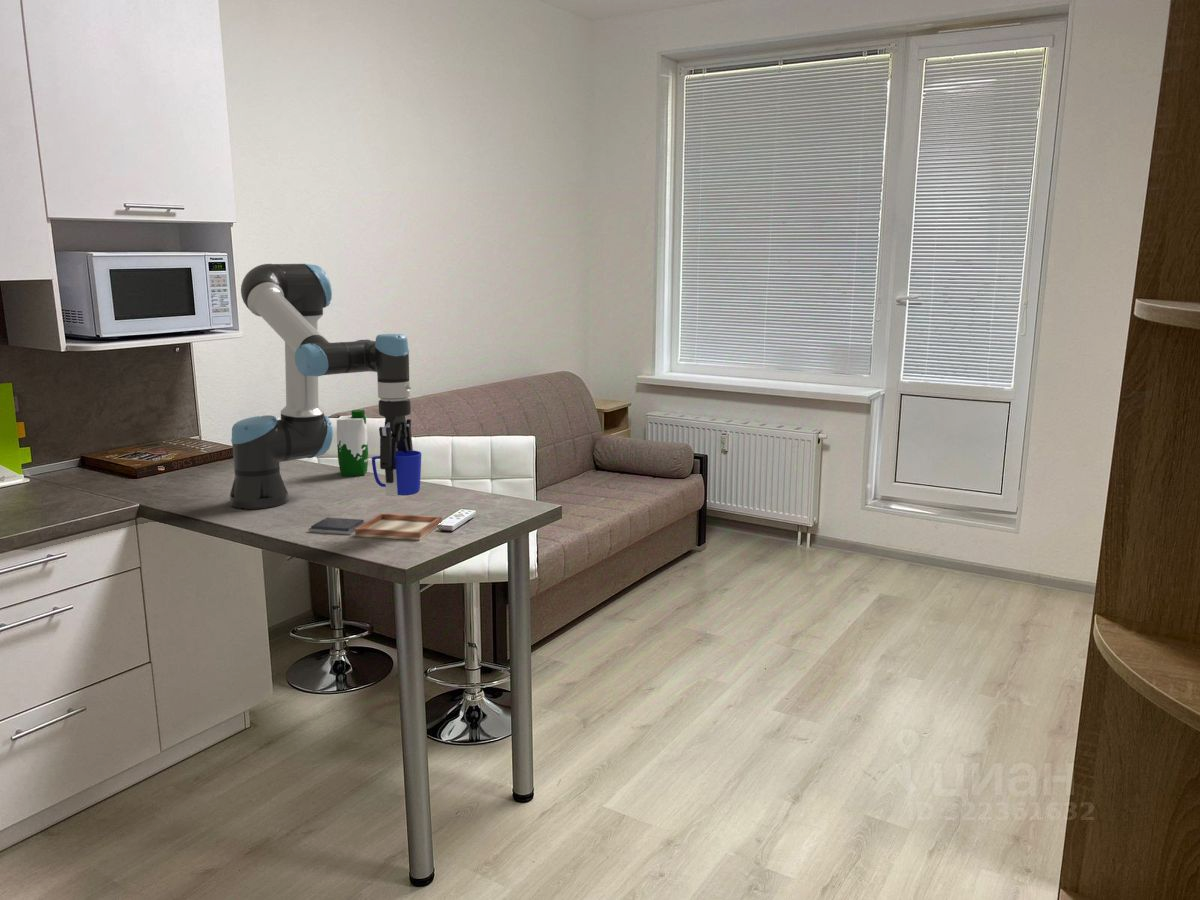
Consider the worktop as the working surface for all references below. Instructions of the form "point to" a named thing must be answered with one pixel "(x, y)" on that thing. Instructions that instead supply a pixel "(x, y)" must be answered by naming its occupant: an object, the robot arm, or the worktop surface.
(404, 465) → the mug
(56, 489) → the worktop surface
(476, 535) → the worktop surface
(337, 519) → the ink pad
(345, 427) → the milk carton
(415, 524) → the sand box
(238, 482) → the robot arm
